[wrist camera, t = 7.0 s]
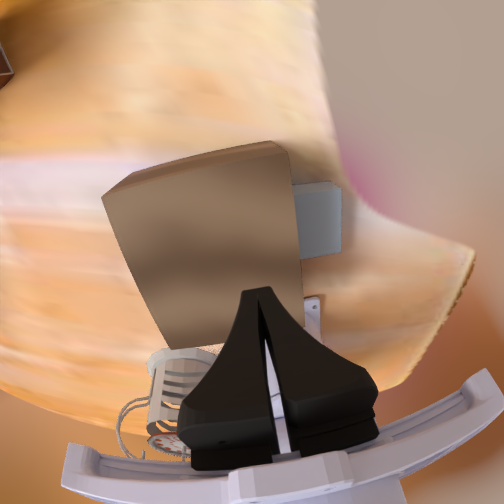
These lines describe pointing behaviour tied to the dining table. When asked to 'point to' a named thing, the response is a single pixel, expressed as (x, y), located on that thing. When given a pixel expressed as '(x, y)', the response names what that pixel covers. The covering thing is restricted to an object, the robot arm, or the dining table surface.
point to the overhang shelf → (209, 238)
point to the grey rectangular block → (318, 218)
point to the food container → (4, 68)
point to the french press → (169, 395)
